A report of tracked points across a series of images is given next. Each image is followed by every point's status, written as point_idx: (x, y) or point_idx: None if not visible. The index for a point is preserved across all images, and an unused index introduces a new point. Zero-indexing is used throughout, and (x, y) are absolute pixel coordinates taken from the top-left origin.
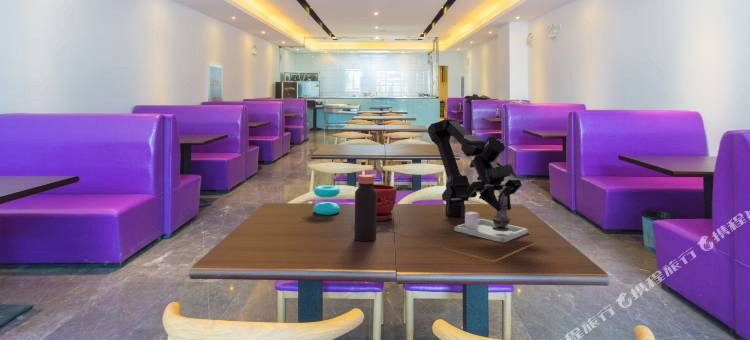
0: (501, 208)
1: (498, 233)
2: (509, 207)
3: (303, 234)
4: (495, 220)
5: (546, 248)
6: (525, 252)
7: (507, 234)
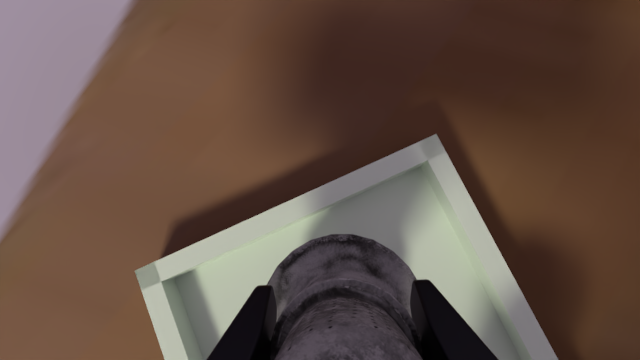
0: (390, 304)
1: None
2: (269, 298)
3: None
4: None
5: (246, 31)
6: (389, 11)
7: None
